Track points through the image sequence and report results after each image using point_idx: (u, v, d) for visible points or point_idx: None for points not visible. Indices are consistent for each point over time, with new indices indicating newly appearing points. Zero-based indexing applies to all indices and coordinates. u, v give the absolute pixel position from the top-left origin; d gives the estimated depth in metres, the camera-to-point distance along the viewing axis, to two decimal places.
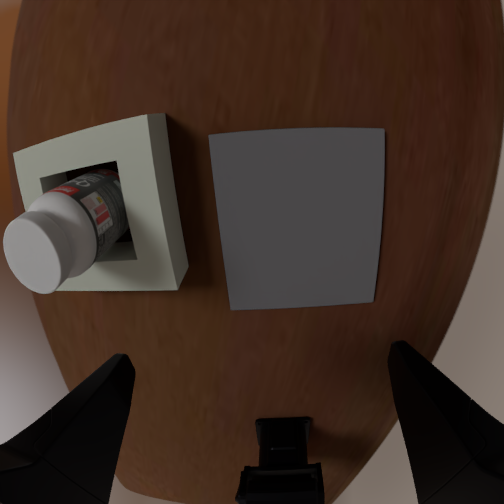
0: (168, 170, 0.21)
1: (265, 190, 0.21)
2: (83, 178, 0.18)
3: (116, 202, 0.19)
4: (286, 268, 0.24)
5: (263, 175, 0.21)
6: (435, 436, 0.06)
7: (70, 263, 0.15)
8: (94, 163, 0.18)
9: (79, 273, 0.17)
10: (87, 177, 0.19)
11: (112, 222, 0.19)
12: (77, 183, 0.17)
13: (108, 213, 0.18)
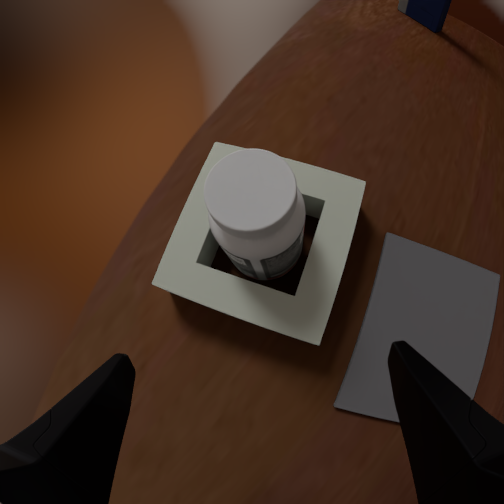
0: None
1: (415, 295, 0.22)
2: None
3: (303, 234, 0.21)
4: None
5: (417, 281, 0.22)
6: (435, 436, 0.06)
7: (282, 224, 0.16)
8: (302, 192, 0.22)
9: (262, 252, 0.17)
10: None
11: (300, 243, 0.20)
12: None
13: (303, 231, 0.20)
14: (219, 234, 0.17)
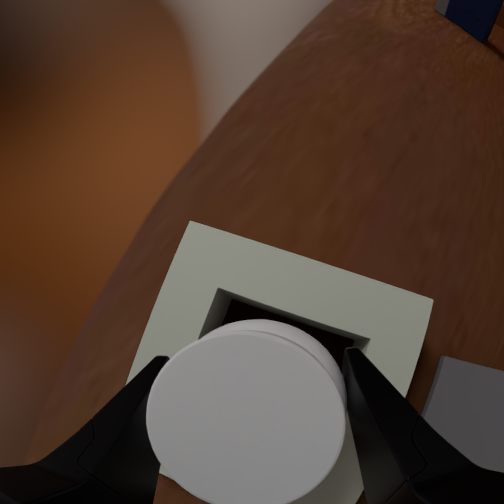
0: None
1: (465, 433, 0.12)
2: None
3: None
4: None
5: (471, 416, 0.13)
6: (377, 450, 0.06)
7: None
8: (334, 325, 0.13)
9: None
10: None
11: None
12: None
13: None
14: None
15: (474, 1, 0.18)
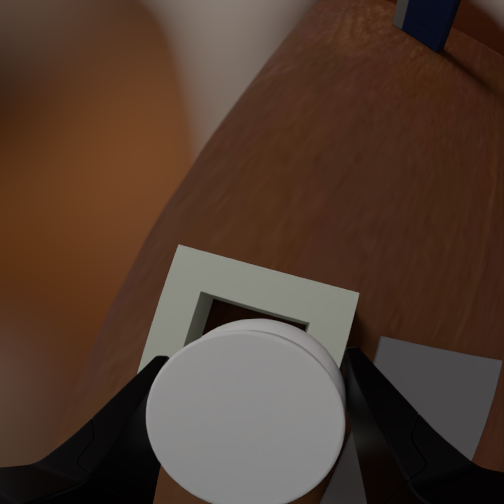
0: None
1: (408, 400, 0.18)
2: None
3: None
4: None
5: (412, 386, 0.19)
6: (377, 450, 0.06)
7: None
8: (282, 313, 0.18)
9: None
10: None
11: None
12: None
13: None
14: None
15: (428, 14, 0.24)
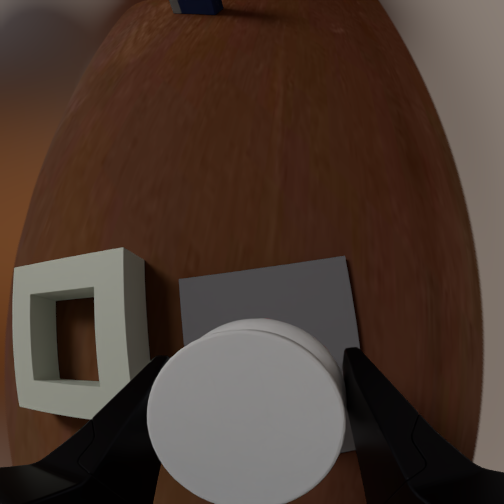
0: (141, 310, 0.22)
1: None
2: None
3: None
4: None
5: (229, 316, 0.21)
6: (377, 450, 0.06)
7: None
8: (75, 287, 0.20)
9: None
10: None
11: None
12: None
13: None
14: None
15: None
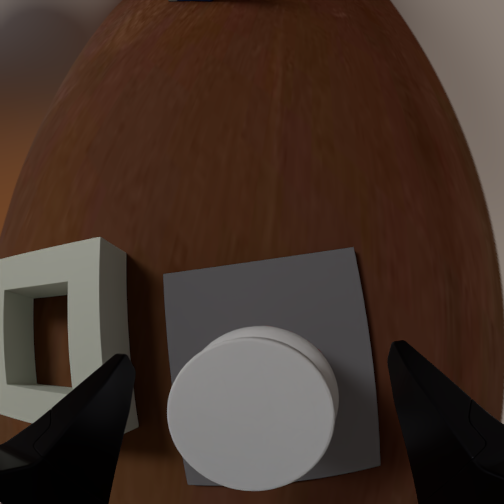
0: (121, 309, 0.19)
1: None
2: None
3: None
4: None
5: (219, 317, 0.18)
6: (435, 436, 0.06)
7: None
8: (49, 282, 0.17)
9: None
10: None
11: None
12: None
13: None
14: None
15: None
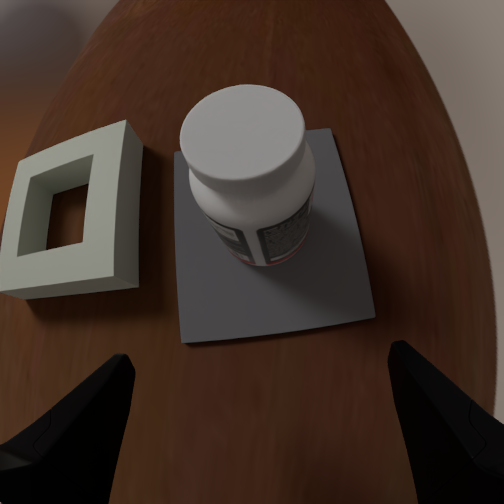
0: (135, 180, 0.22)
1: None
2: None
3: None
4: (249, 275, 0.19)
5: None
6: (435, 436, 0.06)
7: (286, 176, 0.11)
8: (76, 158, 0.20)
9: (259, 217, 0.12)
10: None
11: (308, 214, 0.15)
12: None
13: (312, 199, 0.15)
14: (202, 196, 0.13)
15: None
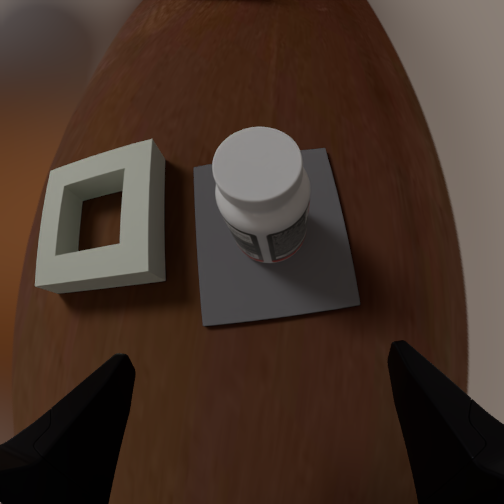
0: (161, 191, 0.27)
1: None
2: None
3: None
4: (258, 270, 0.24)
5: None
6: (435, 436, 0.06)
7: (289, 197, 0.16)
8: (108, 171, 0.25)
9: (269, 226, 0.17)
10: None
11: (305, 223, 0.20)
12: None
13: (308, 211, 0.20)
14: (226, 210, 0.17)
15: None
